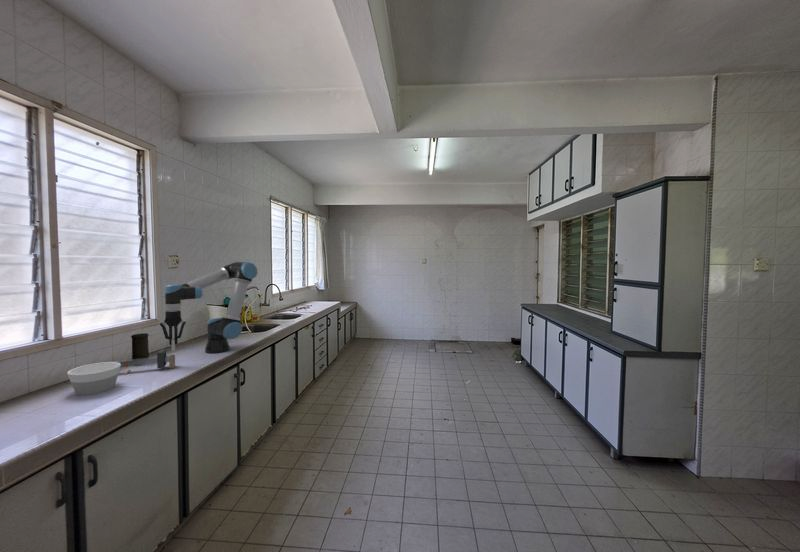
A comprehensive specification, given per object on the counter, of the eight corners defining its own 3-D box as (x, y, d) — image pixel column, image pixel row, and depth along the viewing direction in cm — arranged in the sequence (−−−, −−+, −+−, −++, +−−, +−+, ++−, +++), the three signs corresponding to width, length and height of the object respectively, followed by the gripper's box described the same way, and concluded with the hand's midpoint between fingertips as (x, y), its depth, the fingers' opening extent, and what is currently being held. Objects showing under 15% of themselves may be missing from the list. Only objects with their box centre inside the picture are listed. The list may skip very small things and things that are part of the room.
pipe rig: (175, 365, 196) (175, 353, 196) (173, 369, 188) (172, 357, 188) (111, 372, 182) (111, 359, 182) (106, 377, 174) (105, 364, 174)
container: (153, 361, 202) (153, 333, 201) (140, 366, 193) (140, 336, 192) (140, 361, 203) (139, 332, 202) (127, 365, 194) (126, 336, 193)
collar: (166, 363, 193) (166, 348, 193) (163, 367, 186) (163, 352, 186) (160, 364, 192) (159, 349, 192) (157, 368, 185) (157, 352, 185)
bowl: (128, 386, 162) (127, 365, 162) (75, 401, 146) (75, 377, 145) (112, 379, 172) (112, 359, 172) (62, 391, 156) (61, 369, 155)
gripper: (187, 309, 197) (187, 347, 197) (160, 310, 191) (161, 349, 192) (185, 310, 190) (185, 350, 191) (158, 312, 184) (158, 352, 185)
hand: (173, 350), depth 191 cm, fingers closed
